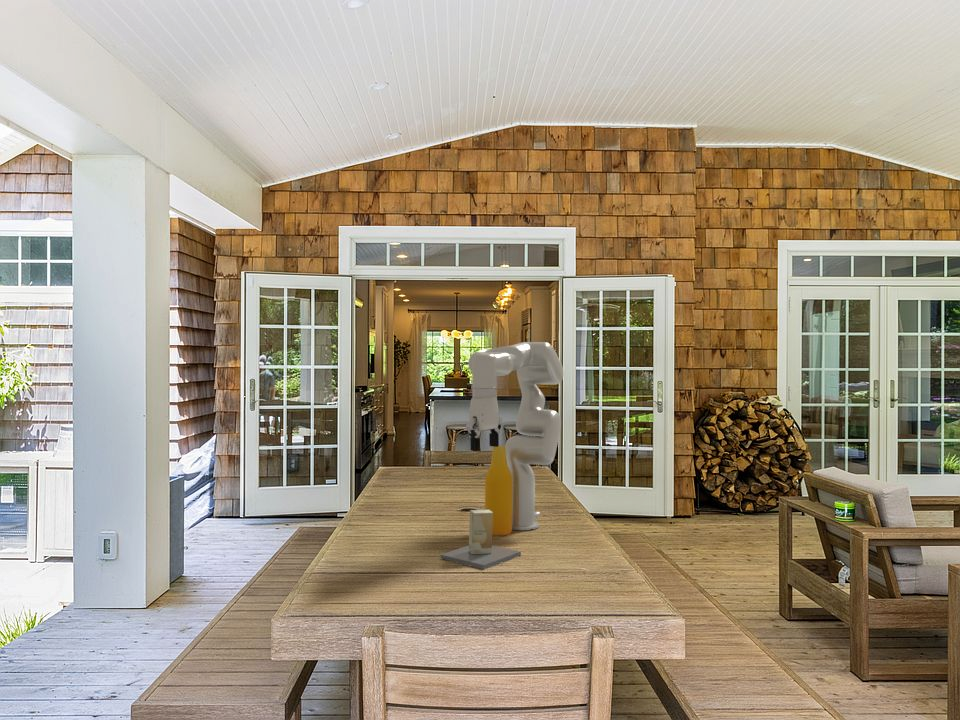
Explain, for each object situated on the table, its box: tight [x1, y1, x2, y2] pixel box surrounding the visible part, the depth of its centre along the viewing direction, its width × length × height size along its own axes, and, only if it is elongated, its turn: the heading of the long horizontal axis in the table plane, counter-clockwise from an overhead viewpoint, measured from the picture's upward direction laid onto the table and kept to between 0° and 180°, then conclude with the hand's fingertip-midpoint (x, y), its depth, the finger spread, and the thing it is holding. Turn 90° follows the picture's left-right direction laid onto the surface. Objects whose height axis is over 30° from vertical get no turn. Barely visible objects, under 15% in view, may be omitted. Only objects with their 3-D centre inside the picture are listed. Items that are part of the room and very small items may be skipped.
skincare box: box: [468, 509, 493, 554], centre depth 208 cm, size 6×4×12 cm
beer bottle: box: [484, 445, 513, 536], centre depth 236 cm, size 9×9×29 cm
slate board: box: [439, 544, 522, 570], centre depth 207 cm, size 18×16×1 cm
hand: (484, 448), depth 218 cm, fingers open, 9 cm apart
